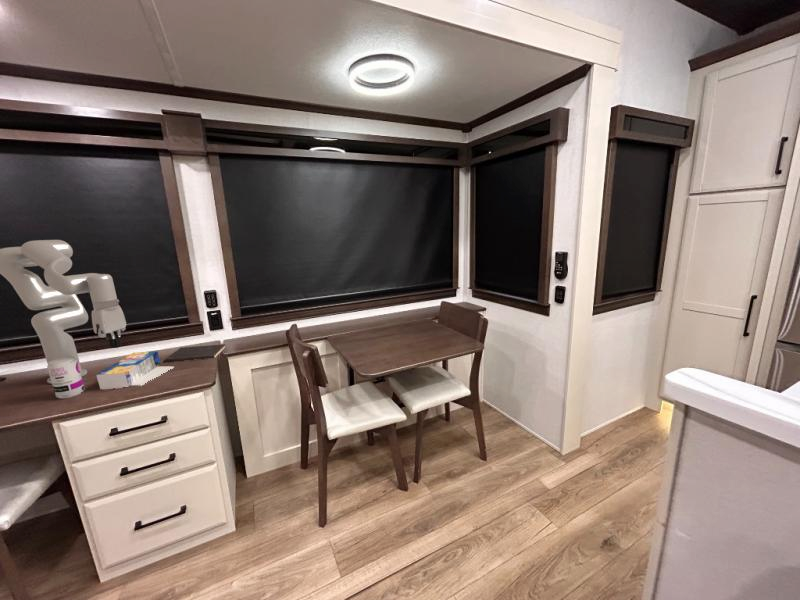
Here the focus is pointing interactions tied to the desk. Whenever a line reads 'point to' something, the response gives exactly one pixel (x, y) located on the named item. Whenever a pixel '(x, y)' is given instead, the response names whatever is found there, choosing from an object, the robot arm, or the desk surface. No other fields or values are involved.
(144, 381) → the mat
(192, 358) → the hardcover book
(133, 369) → the beverage box
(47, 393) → the desk surface
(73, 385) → the supplement can
